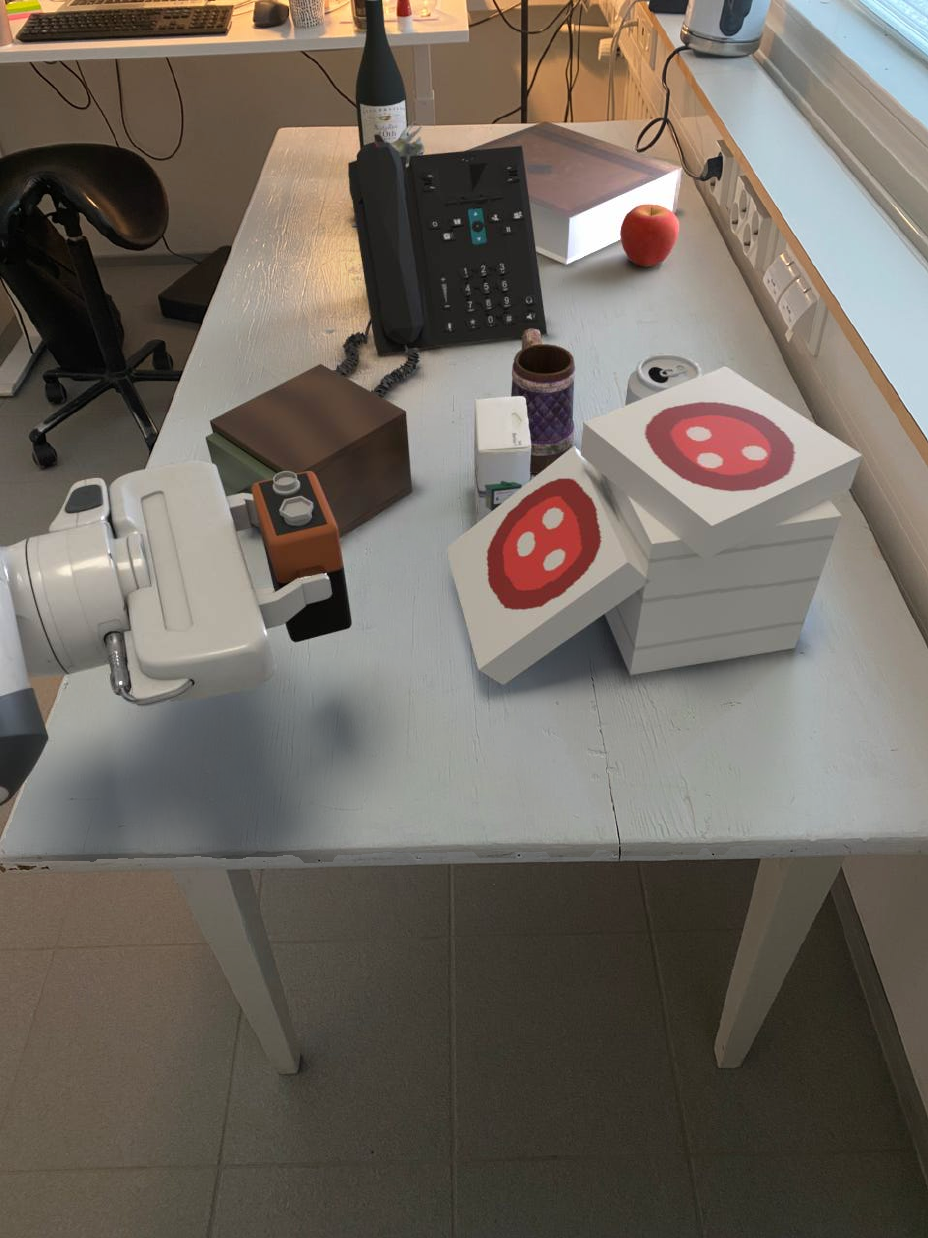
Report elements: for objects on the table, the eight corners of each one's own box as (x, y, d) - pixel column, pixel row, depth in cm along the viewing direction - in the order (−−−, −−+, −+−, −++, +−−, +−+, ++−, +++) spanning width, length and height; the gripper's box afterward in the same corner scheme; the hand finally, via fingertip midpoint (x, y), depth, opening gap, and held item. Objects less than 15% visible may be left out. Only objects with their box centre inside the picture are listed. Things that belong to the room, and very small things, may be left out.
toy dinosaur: (361, 254, 134) (353, 173, 126) (311, 243, 137) (300, 164, 129) (430, 196, 148) (427, 120, 140) (384, 188, 150) (378, 113, 142)
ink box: (473, 493, 96) (472, 394, 87) (522, 491, 96) (525, 392, 87) (477, 549, 90) (476, 448, 81) (529, 547, 90) (533, 446, 81)
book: (543, 162, 156) (545, 120, 152) (676, 212, 142) (682, 167, 137) (434, 206, 145) (433, 162, 141) (566, 264, 131) (569, 217, 126)
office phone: (324, 417, 106) (298, 242, 91) (302, 299, 125) (278, 140, 111) (572, 383, 110) (585, 211, 95) (514, 274, 129) (517, 117, 114)
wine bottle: (413, 179, 153) (401, -41, 131) (365, 184, 152) (345, -37, 130) (406, 161, 158) (393, -53, 137) (360, 165, 157) (339, -50, 136)
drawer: (283, 560, 88) (269, 494, 82) (212, 507, 94) (194, 442, 88) (390, 492, 95) (384, 427, 89) (317, 447, 100) (307, 383, 95)
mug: (578, 472, 98) (587, 371, 89) (512, 478, 97) (514, 377, 89) (559, 417, 105) (565, 318, 96) (497, 423, 104) (497, 324, 96)
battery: (292, 647, 63) (266, 531, 56) (271, 583, 67) (246, 469, 60) (354, 630, 64) (337, 515, 57) (330, 569, 68) (312, 455, 61)
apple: (681, 271, 129) (689, 215, 123) (625, 276, 128) (631, 219, 122) (665, 247, 134) (672, 191, 128) (611, 251, 133) (616, 196, 128)
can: (610, 450, 100) (622, 350, 92) (678, 444, 101) (696, 345, 92) (626, 493, 95) (640, 392, 87) (698, 487, 96) (719, 386, 87)
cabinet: (309, 558, 90) (293, 476, 82) (230, 500, 96) (209, 420, 89) (412, 491, 96) (406, 411, 89) (332, 442, 103) (320, 363, 95)
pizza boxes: (444, 565, 89) (435, 402, 75) (742, 521, 92) (783, 358, 79) (485, 723, 75) (483, 559, 62) (831, 664, 79) (898, 497, 66)
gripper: (97, 674, 49) (348, 608, 53) (74, 466, 63) (274, 424, 66) (129, 747, 54) (360, 682, 57) (101, 538, 68) (288, 495, 71)
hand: (313, 542), depth 62 cm, fingers closed on battery, 7 cm apart
